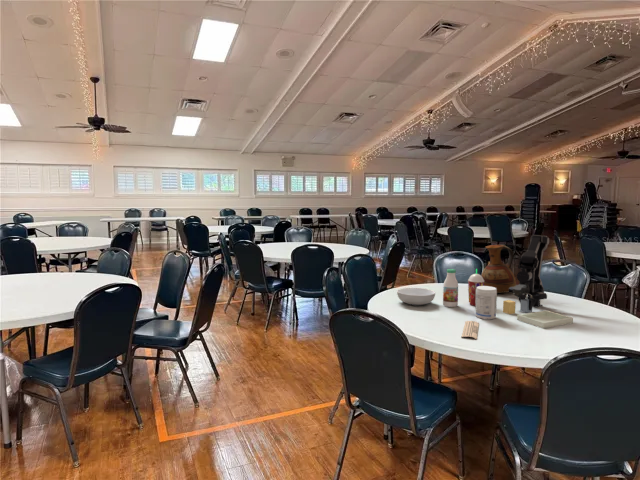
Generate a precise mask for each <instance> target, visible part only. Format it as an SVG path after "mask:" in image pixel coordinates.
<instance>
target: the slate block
mask: <svg viewBox="0 0 640 480" xmlns="http://www.w3.org/2000/svg"><path fill="white" fill-rule="evenodd" d="M519 304H520V303H519ZM533 308H534V307H533ZM533 308H532V309H531V310H529V300H528V299H527V298H526V299H522V300H521V304H520V307H519V312H523V313H524V314H526V313H533Z"/></svg>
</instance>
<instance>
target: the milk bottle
mask: <svg viewBox="0 0 640 480" xmlns="http://www.w3.org/2000/svg"><path fill="white" fill-rule="evenodd" d="M456 272H457V271H456V269H455V268H454V269H453V268H447V269H446V274H447V275H446V278H445V280H443V281H444V282H443V290H442V293H443V295H442V306H444V307H447V308H456V307H458V306H459V282H458V280H457V277H456Z"/></svg>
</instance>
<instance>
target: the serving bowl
mask: <svg viewBox="0 0 640 480" xmlns="http://www.w3.org/2000/svg"><path fill="white" fill-rule="evenodd" d="M396 295H397V297H398V298H399V301H401V302H403V303H405V304H408V305H411V304H412V305H411V306H423V305H427V304H430V303H432V301H434V299H435V297H436V292H435V290H432V289H428V288H423V287H404V288H400V289H397V290H396Z"/></svg>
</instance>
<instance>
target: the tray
mask: <svg viewBox="0 0 640 480" xmlns="http://www.w3.org/2000/svg"><path fill="white" fill-rule="evenodd" d="M516 320H517V321H519V322H523V323H526V324H529V325H531V326H535V327H538V328H541V329H548V328H552V327H558V326H563V325H569V324H574V317H572V316H567V315H565V314H561V313H557V312H553V311H549V310H540V311H535V312H534V311H532V312H529V313H520V314H517V316H516Z"/></svg>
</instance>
